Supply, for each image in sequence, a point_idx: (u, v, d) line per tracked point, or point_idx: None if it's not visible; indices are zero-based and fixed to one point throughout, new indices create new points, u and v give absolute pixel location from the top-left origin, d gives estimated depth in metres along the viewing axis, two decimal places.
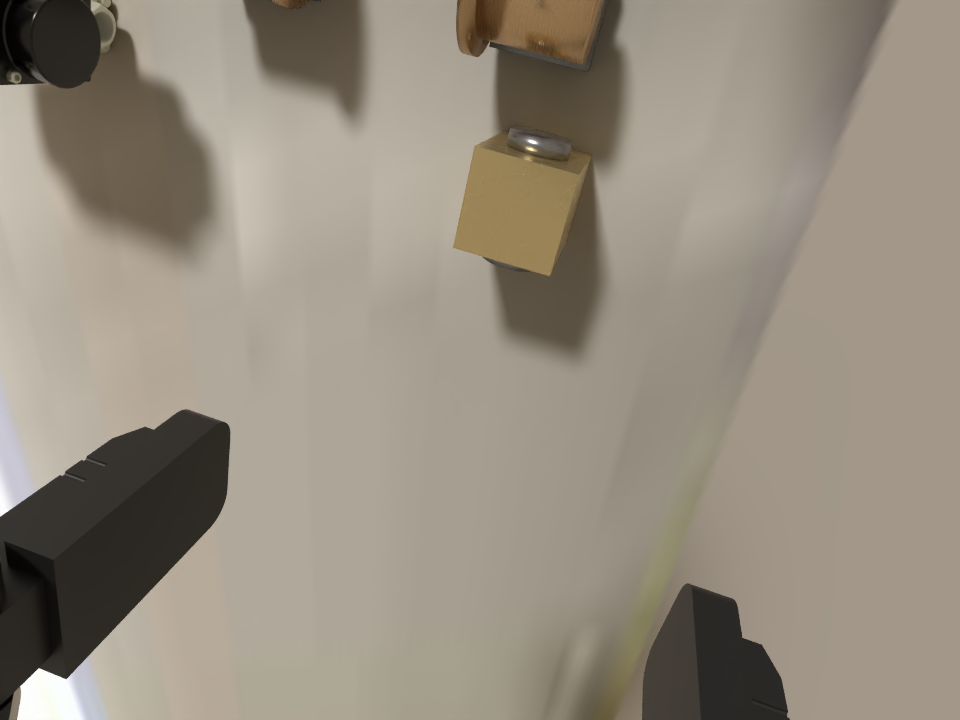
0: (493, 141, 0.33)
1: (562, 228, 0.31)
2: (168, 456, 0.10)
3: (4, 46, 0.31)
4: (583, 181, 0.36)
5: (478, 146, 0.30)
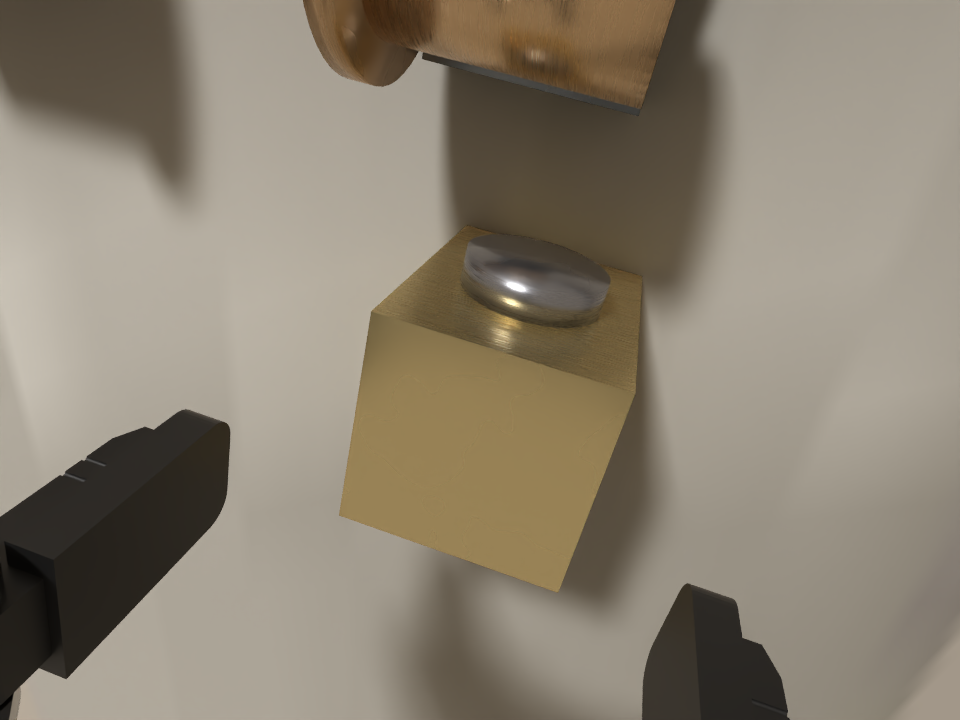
0: (429, 275, 0.14)
1: (589, 503, 0.13)
2: (168, 456, 0.10)
3: None
4: None
5: (381, 311, 0.12)
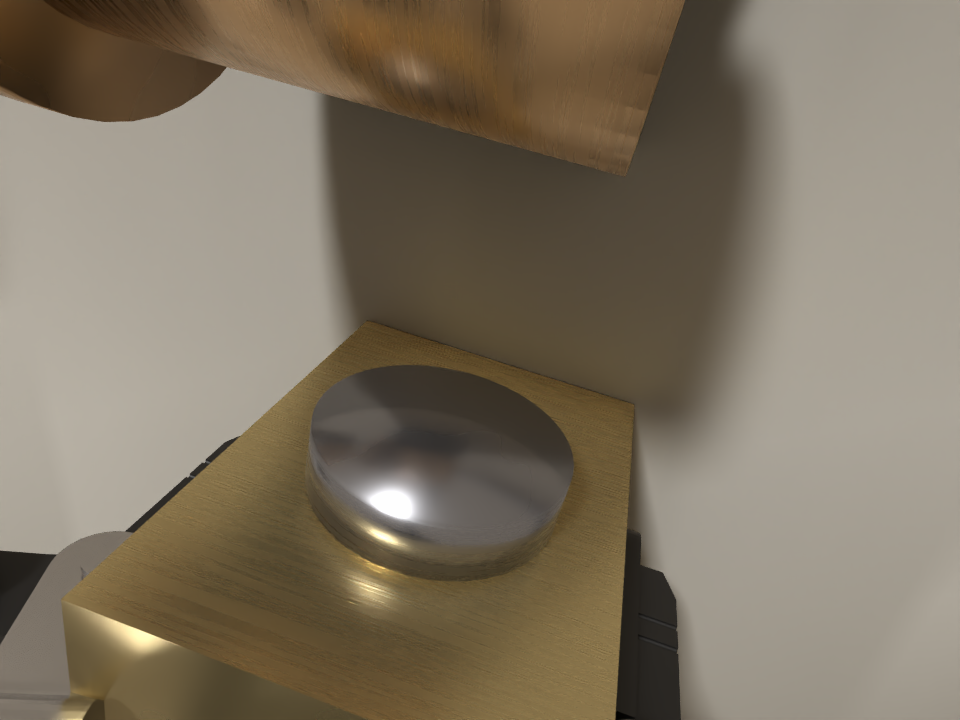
0: (251, 456, 0.08)
1: None
2: None
3: None
4: None
5: (88, 593, 0.06)
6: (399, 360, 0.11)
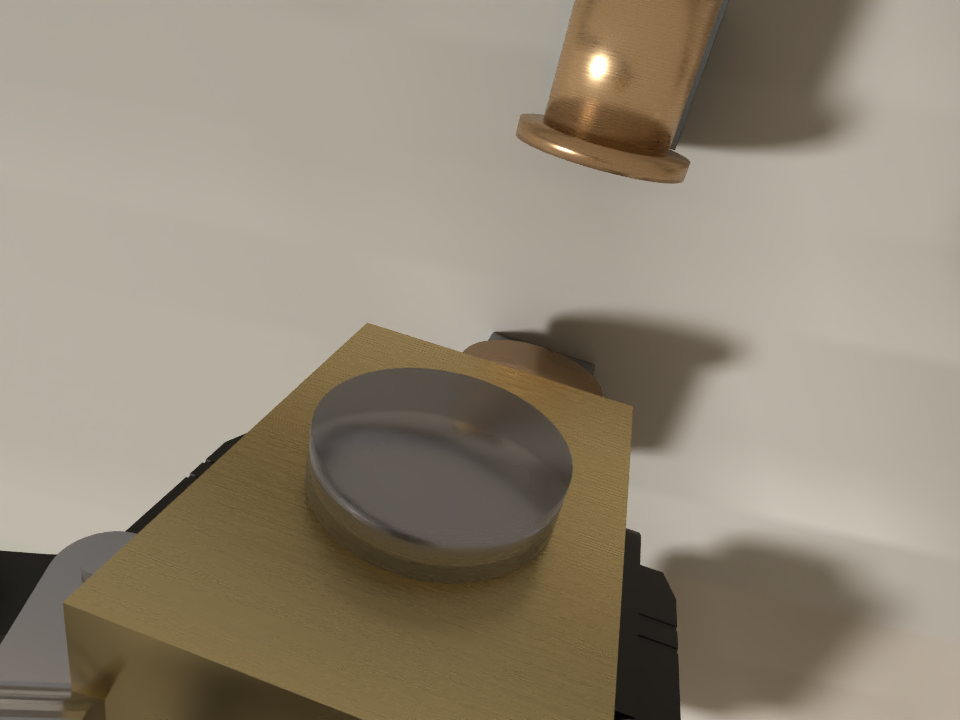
0: (251, 459, 0.08)
1: None
2: None
3: None
4: None
5: (89, 596, 0.06)
6: (399, 363, 0.11)
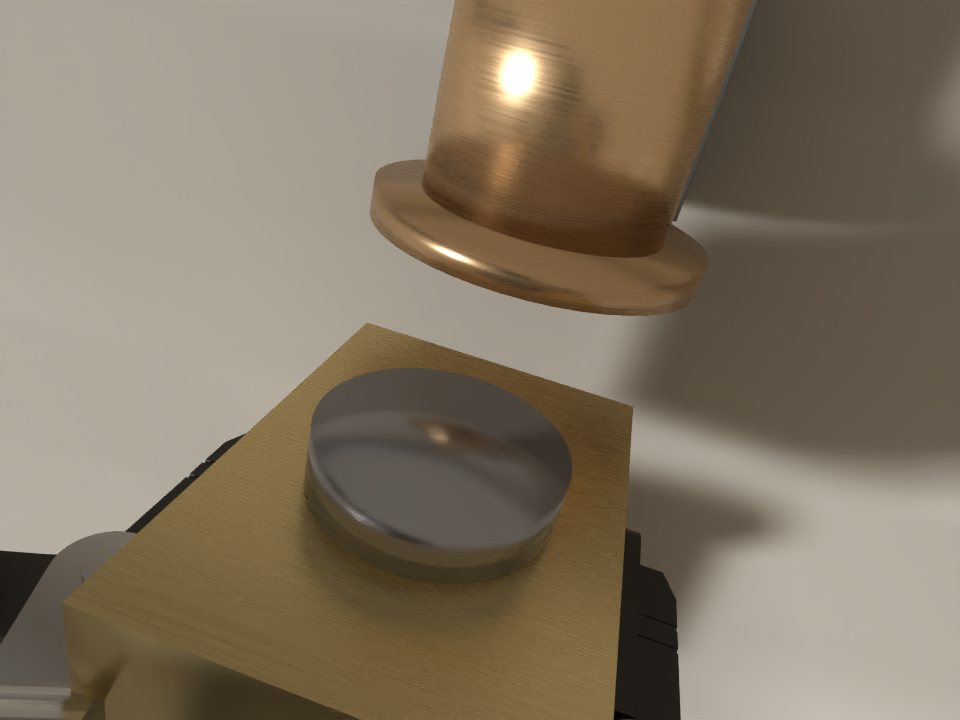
0: (250, 459, 0.08)
1: None
2: None
3: None
4: None
5: (88, 597, 0.06)
6: (399, 363, 0.11)
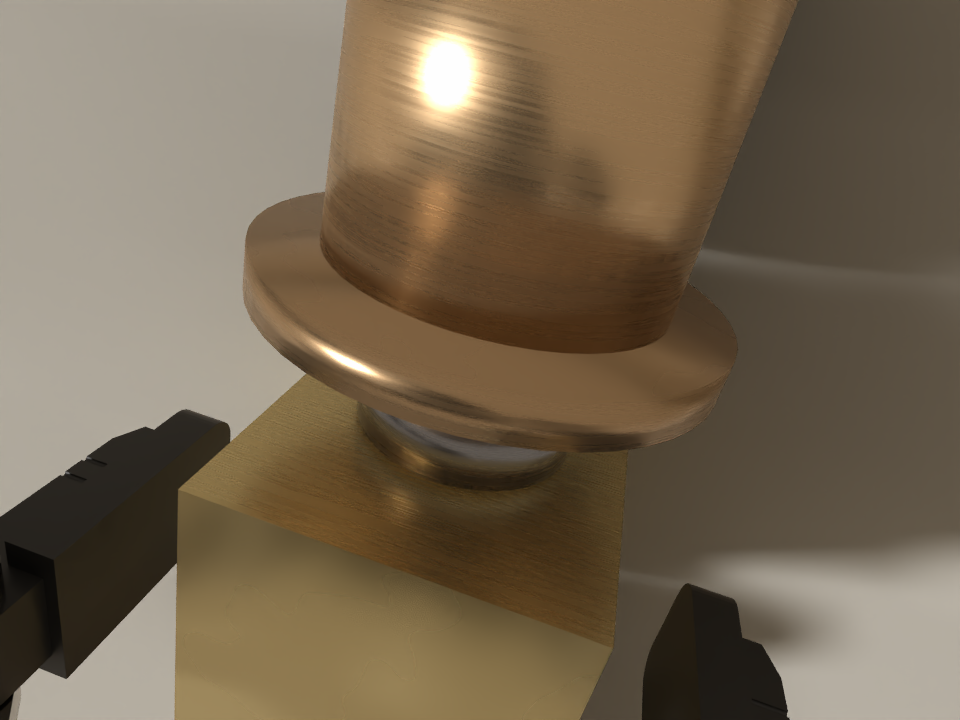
0: (311, 394, 0.10)
1: None
2: (168, 456, 0.10)
3: None
4: None
5: (197, 486, 0.07)
6: None
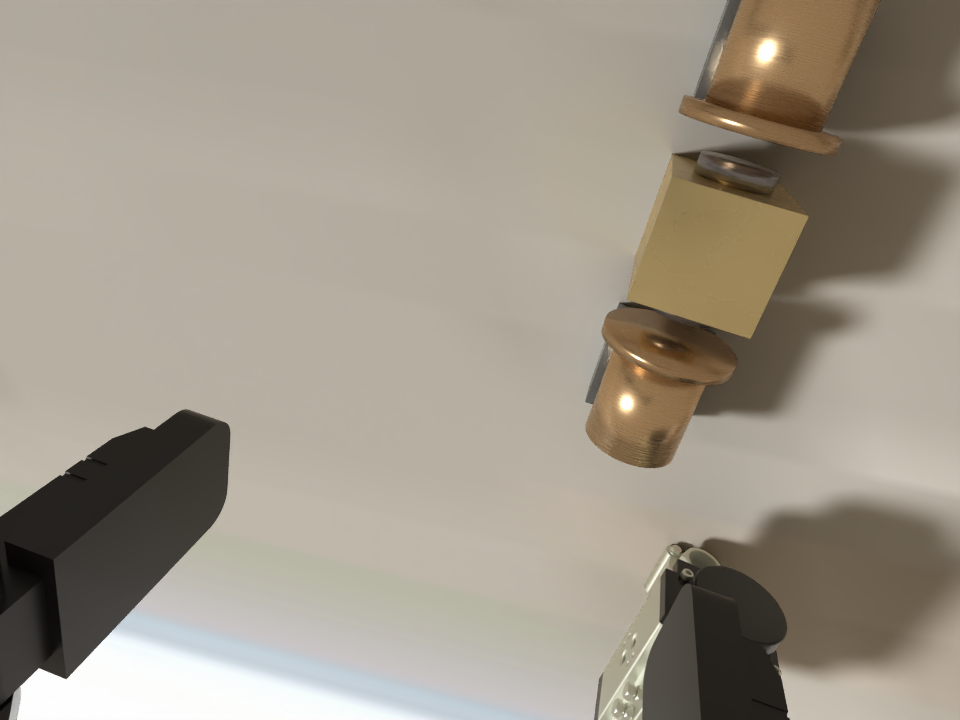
0: (680, 169, 0.26)
1: (775, 281, 0.25)
2: (168, 456, 0.10)
3: None
4: None
5: (675, 177, 0.24)
6: (694, 162, 0.29)
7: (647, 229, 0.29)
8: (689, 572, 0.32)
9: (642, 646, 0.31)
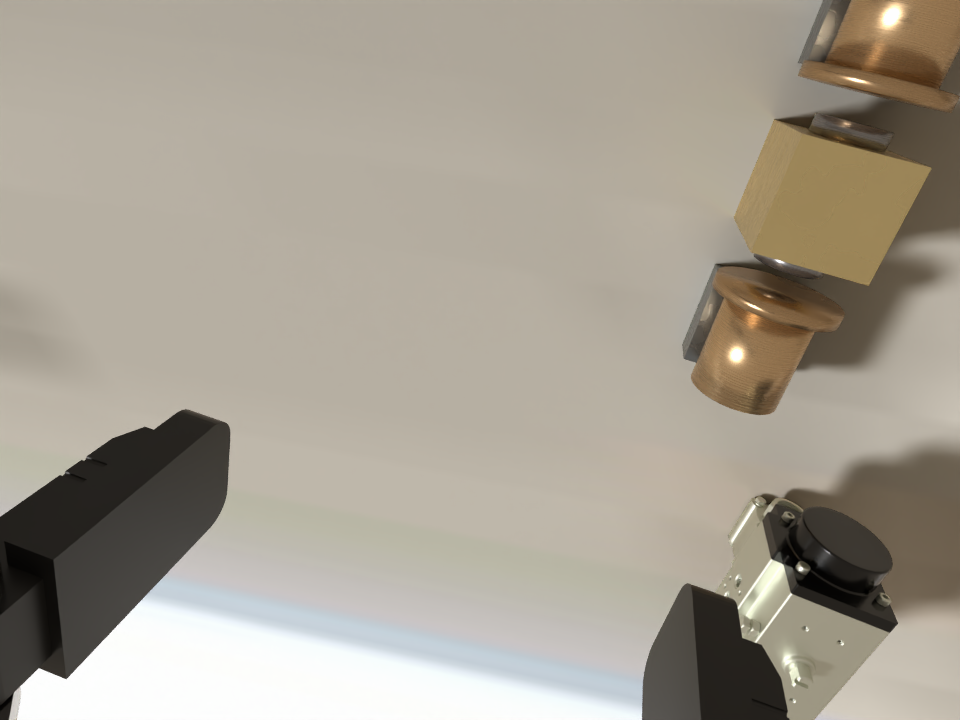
0: (798, 129, 0.28)
1: (896, 230, 0.27)
2: (168, 456, 0.10)
3: (855, 595, 0.30)
4: None
5: (805, 134, 0.26)
6: (799, 126, 0.31)
7: (756, 189, 0.31)
8: (790, 514, 0.34)
9: (751, 583, 0.33)
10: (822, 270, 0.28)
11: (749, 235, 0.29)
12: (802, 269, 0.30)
